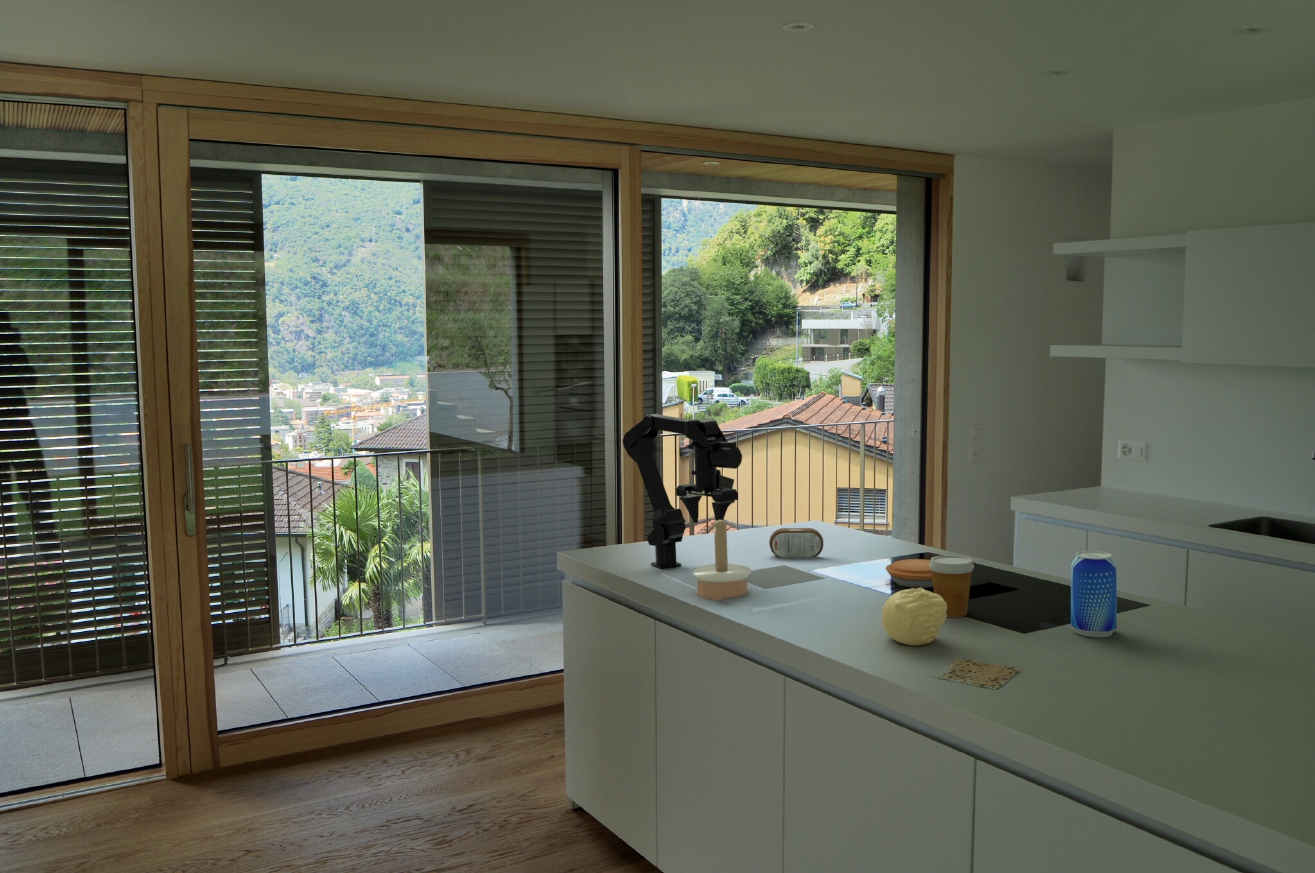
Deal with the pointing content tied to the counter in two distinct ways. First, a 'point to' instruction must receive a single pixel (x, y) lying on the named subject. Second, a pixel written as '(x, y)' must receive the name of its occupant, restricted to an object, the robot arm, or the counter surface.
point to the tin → (796, 542)
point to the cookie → (980, 672)
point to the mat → (779, 577)
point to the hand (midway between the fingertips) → (707, 524)
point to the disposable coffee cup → (952, 582)
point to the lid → (721, 561)
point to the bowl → (721, 589)
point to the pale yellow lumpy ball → (914, 616)
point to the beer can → (1094, 594)
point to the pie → (911, 573)
